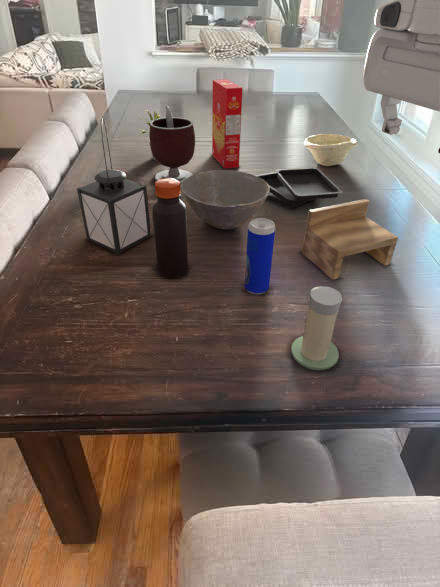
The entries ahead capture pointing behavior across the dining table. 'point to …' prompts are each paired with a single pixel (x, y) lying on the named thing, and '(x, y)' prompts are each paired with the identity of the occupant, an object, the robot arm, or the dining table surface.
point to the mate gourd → (172, 145)
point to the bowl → (329, 148)
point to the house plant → (149, 124)
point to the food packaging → (226, 122)
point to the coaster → (311, 364)
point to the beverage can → (259, 255)
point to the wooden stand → (345, 236)
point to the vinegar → (170, 229)
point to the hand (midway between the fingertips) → (416, 143)
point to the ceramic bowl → (225, 196)
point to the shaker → (320, 322)
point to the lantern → (114, 209)
